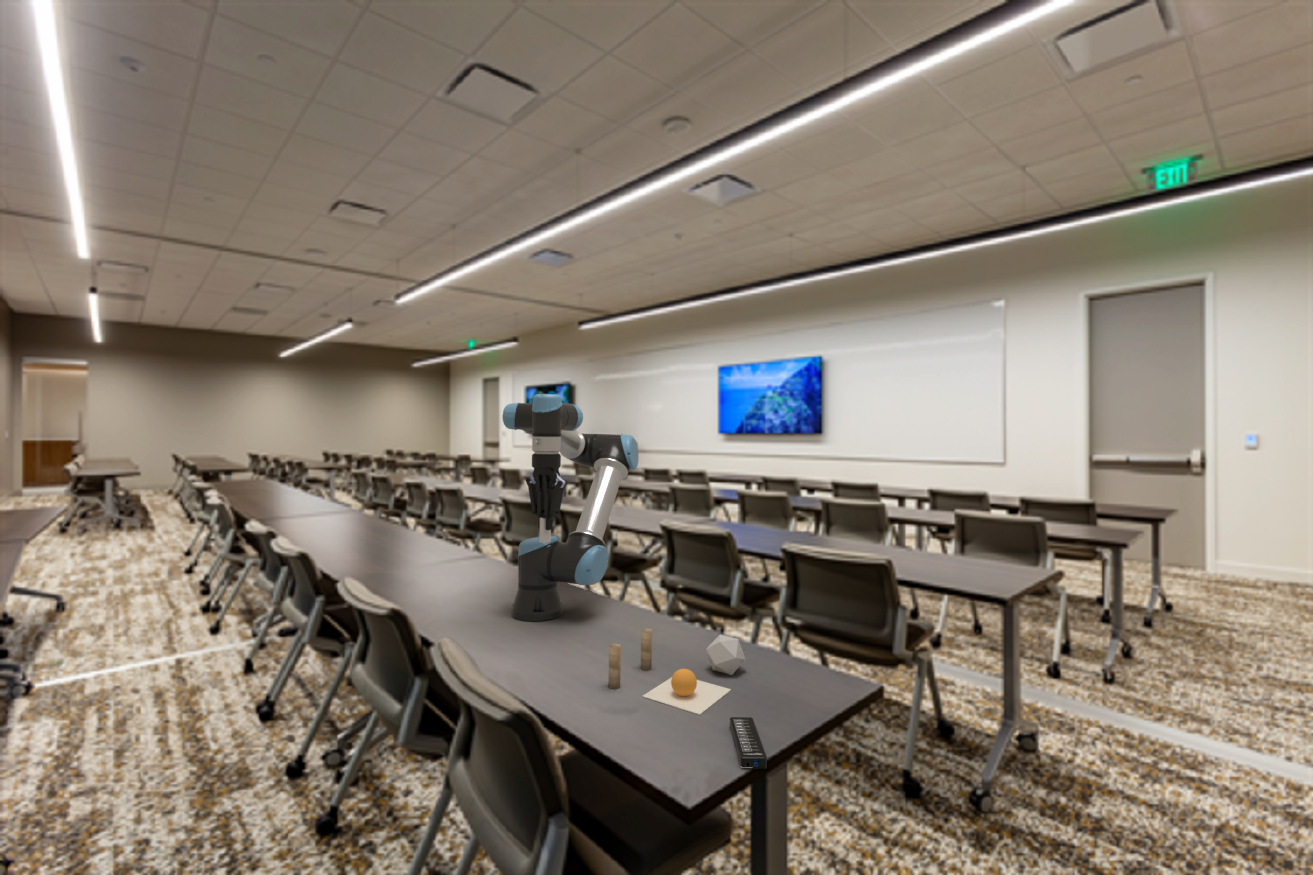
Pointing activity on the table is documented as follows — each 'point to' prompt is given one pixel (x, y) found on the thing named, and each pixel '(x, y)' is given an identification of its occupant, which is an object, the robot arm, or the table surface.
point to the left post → (614, 665)
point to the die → (725, 654)
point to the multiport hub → (748, 743)
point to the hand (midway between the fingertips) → (545, 541)
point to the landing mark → (693, 703)
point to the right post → (646, 649)
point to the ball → (683, 682)
